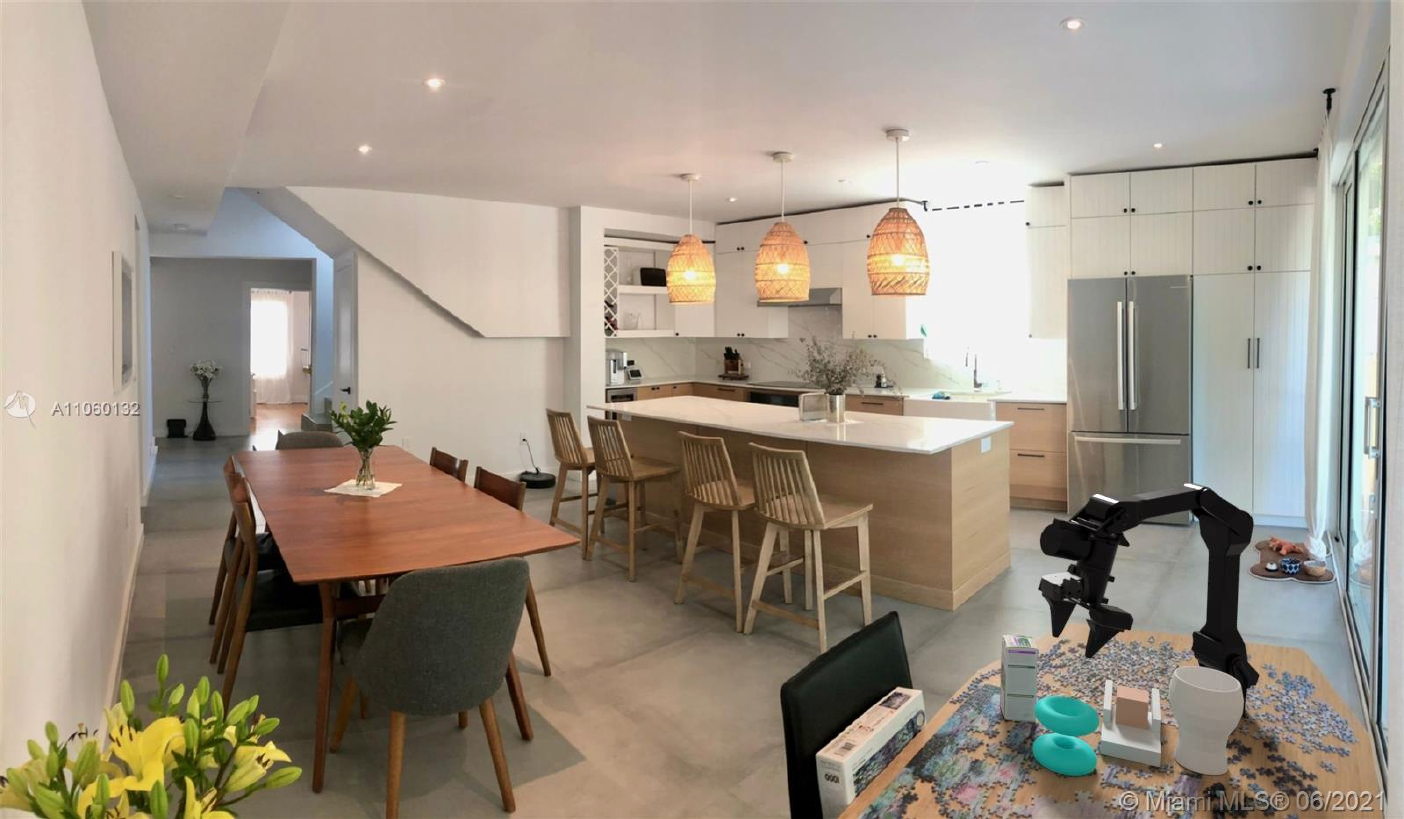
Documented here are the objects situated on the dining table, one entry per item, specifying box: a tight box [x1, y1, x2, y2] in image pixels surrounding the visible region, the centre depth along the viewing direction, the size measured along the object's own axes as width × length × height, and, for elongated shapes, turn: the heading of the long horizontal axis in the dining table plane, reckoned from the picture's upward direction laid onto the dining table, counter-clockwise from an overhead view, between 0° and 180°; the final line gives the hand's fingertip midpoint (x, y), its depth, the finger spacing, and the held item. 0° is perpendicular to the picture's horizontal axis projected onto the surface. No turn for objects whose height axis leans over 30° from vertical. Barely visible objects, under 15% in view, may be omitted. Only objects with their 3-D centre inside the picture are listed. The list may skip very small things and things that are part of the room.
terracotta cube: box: [1115, 684, 1150, 730], centre depth 146 cm, size 5×5×5 cm
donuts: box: [1031, 695, 1100, 777], centre depth 137 cm, size 10×10×10 cm
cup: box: [1168, 665, 1244, 776], centre depth 137 cm, size 11×11×15 cm
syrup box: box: [999, 634, 1039, 723], centre depth 153 cm, size 6×6×14 cm
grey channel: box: [1099, 678, 1162, 768], centre depth 147 cm, size 9×20×5 cm, turn 152°
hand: (1071, 647), depth 147 cm, fingers open, 9 cm apart
